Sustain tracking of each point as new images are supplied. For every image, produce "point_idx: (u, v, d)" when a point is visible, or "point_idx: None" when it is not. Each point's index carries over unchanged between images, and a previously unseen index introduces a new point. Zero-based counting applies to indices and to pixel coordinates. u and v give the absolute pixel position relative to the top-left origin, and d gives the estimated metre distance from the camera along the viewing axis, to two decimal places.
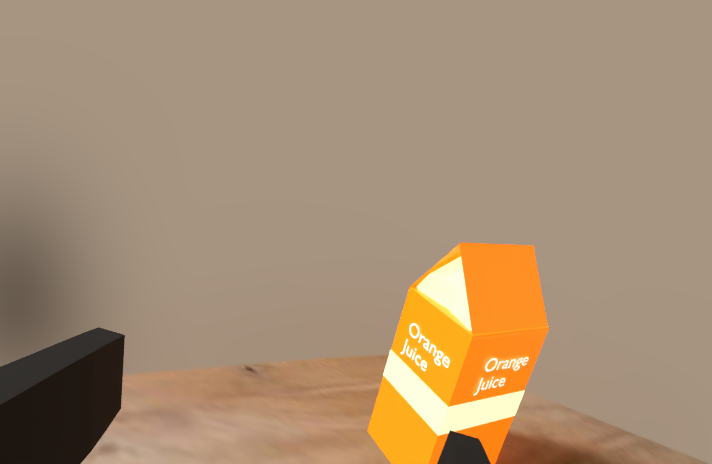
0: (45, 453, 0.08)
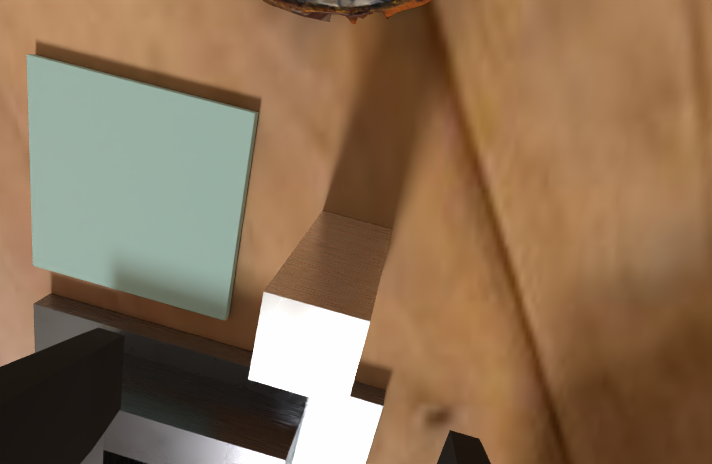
0: (45, 453, 0.08)
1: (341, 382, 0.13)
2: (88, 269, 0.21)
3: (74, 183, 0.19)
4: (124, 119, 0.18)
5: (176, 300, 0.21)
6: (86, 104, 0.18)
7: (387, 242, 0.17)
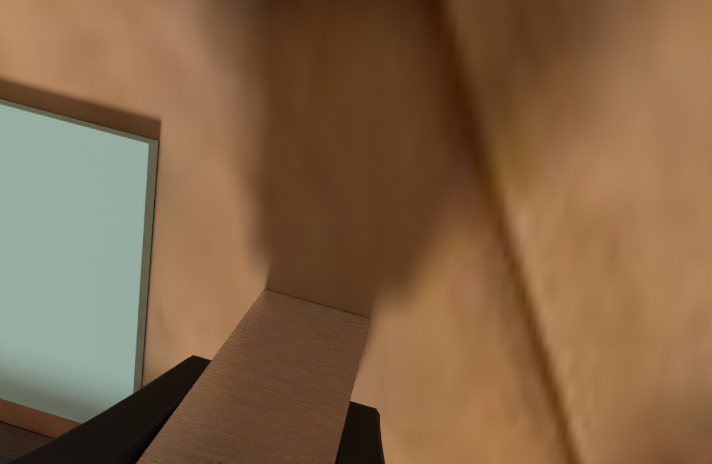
0: None
1: None
2: None
3: None
4: None
5: (59, 408, 0.14)
6: None
7: (359, 352, 0.11)
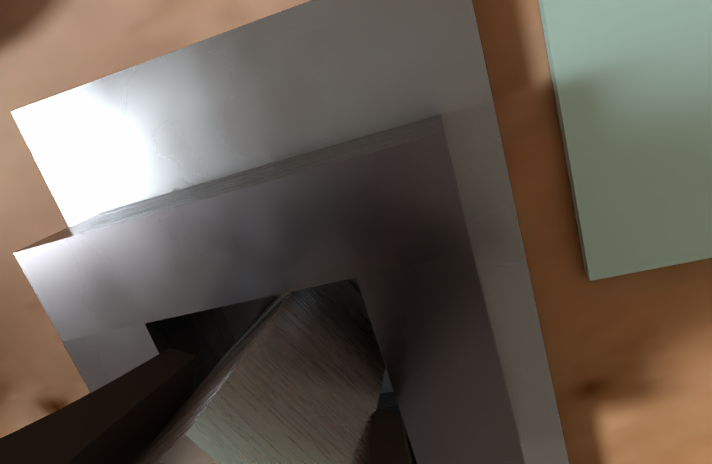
0: None
1: None
2: (575, 21, 0.10)
3: None
4: None
5: (589, 197, 0.12)
6: None
7: None
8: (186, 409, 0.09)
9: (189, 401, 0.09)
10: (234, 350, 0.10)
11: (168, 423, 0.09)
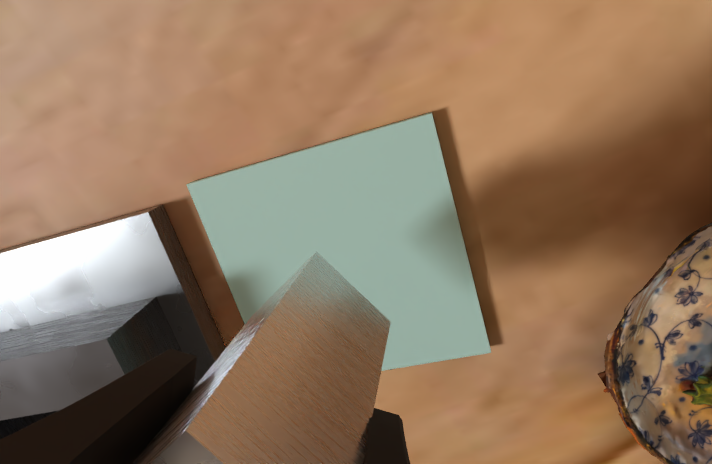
0: None
1: None
2: (228, 247, 0.18)
3: (316, 205, 0.17)
4: (419, 238, 0.17)
5: None
6: (412, 195, 0.16)
7: (383, 349, 0.12)
8: (184, 407, 0.09)
9: (187, 399, 0.09)
10: (231, 348, 0.10)
11: (166, 422, 0.09)
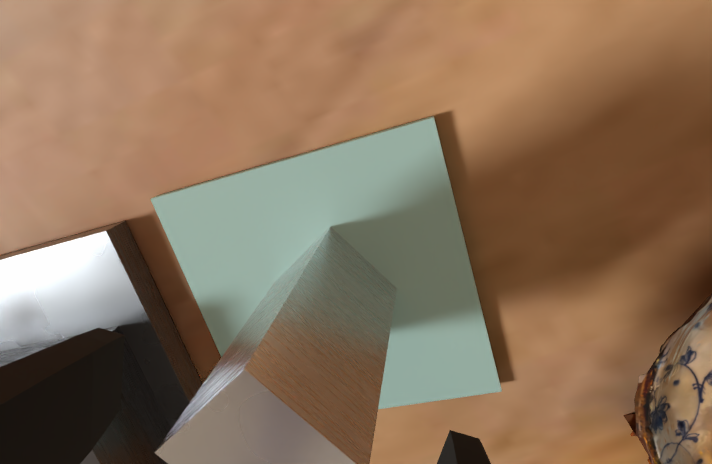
0: (45, 453, 0.08)
1: None
2: (199, 270, 0.15)
3: (299, 224, 0.14)
4: (418, 262, 0.14)
5: None
6: (410, 212, 0.14)
7: (391, 311, 0.13)
8: (229, 358, 0.10)
9: (227, 353, 0.11)
10: (261, 310, 0.12)
11: None
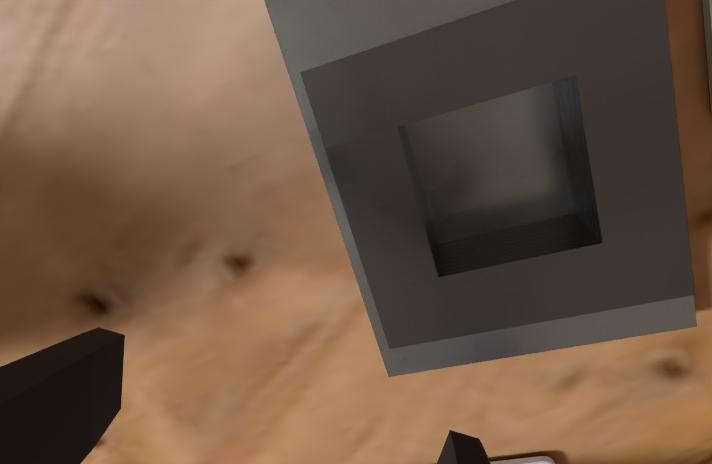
0: (45, 453, 0.08)
1: None
2: None
3: None
4: None
5: None
6: None
7: None
8: None
9: None
10: None
11: None
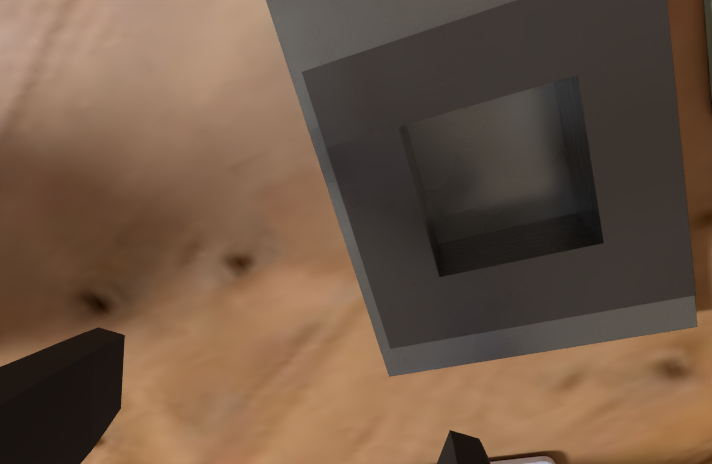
0: (45, 453, 0.08)
1: None
2: None
3: None
4: None
5: None
6: None
7: None
8: None
9: None
10: None
11: None
